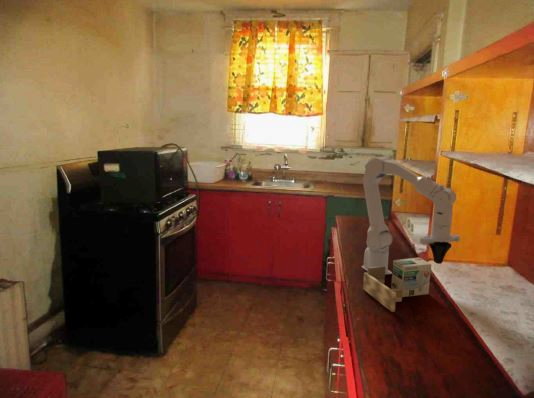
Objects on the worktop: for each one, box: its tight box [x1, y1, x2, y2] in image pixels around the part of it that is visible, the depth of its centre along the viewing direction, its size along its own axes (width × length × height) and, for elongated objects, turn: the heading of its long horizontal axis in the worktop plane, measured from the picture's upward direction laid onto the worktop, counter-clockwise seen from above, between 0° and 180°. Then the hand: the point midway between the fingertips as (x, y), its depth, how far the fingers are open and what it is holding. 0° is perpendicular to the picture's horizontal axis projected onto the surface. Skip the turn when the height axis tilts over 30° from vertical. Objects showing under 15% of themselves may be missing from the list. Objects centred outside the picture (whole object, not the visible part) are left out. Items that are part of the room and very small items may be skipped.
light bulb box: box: [390, 257, 432, 298], centre depth 127 cm, size 11×7×11 cm, turn 106°
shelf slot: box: [362, 266, 403, 313], centre depth 122 cm, size 17×7×8 cm, turn 16°
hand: (437, 262), depth 130 cm, fingers closed
